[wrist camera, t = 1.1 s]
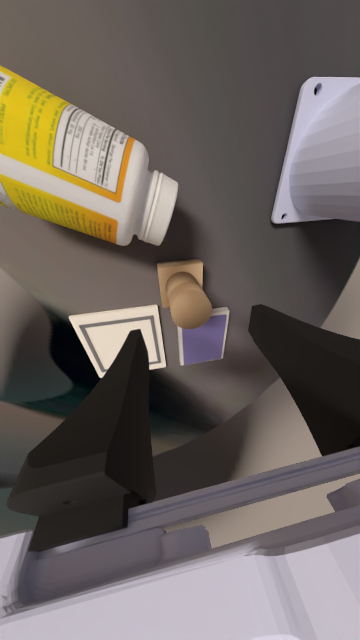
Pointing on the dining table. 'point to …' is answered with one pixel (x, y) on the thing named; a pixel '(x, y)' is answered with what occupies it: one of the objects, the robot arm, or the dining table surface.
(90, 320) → the print sheet
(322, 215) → the robot arm
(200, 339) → the ink pad
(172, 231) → the dining table surface
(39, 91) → the supplement bottle
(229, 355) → the dining table surface
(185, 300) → the stamp
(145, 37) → the dining table surface
